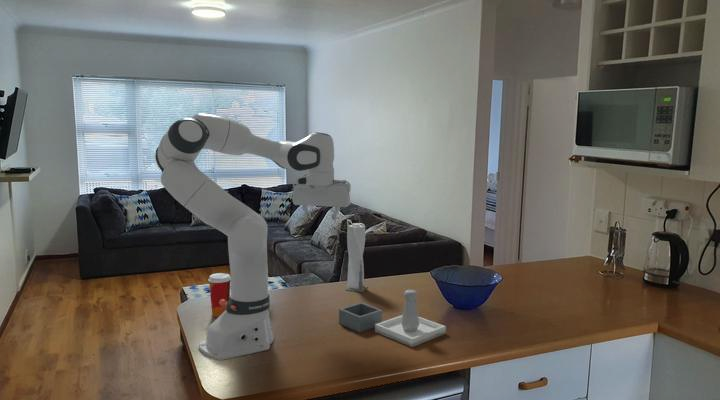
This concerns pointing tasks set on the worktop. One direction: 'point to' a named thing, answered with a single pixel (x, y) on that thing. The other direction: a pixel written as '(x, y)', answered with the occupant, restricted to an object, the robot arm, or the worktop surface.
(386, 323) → the tray
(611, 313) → the worktop surface
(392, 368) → the worktop surface
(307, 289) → the worktop surface
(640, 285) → the worktop surface
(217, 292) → the paper cup
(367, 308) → the hollow square frame
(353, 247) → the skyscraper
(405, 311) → the salt shaker
